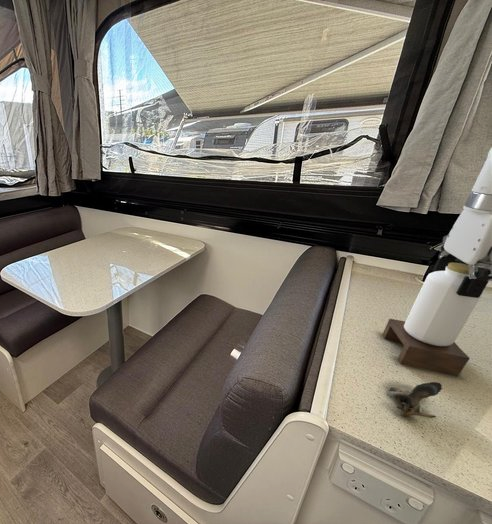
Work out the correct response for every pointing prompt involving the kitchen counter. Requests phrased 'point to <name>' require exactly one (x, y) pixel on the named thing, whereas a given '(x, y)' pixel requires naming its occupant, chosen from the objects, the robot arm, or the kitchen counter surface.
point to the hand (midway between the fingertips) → (453, 285)
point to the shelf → (425, 351)
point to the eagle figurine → (415, 398)
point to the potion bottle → (441, 307)
